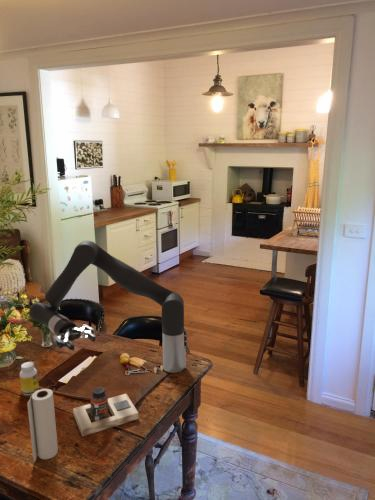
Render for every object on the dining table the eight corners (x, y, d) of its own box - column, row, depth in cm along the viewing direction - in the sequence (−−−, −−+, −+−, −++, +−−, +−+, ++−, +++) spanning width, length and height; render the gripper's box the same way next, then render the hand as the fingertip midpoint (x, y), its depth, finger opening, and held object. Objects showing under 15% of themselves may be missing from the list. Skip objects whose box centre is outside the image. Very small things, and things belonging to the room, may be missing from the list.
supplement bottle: (100, 425, 142) (98, 397, 140) (87, 419, 146) (86, 391, 143) (112, 416, 147) (110, 388, 144) (99, 410, 150) (98, 383, 148)
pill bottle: (33, 397, 159) (30, 370, 156) (18, 395, 160) (15, 368, 157) (42, 387, 165) (39, 361, 162) (27, 385, 166) (24, 359, 163)
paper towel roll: (57, 444, 134) (52, 386, 128) (58, 457, 128) (52, 397, 123) (34, 449, 131) (27, 390, 126) (33, 463, 126) (27, 401, 120)
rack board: (126, 399, 157) (126, 392, 157) (138, 418, 146) (138, 411, 145) (73, 414, 148) (73, 407, 148) (82, 436, 137) (81, 429, 136)
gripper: (44, 324, 154) (65, 341, 143) (78, 312, 163) (100, 327, 152) (45, 341, 156) (67, 360, 145) (79, 329, 165) (101, 345, 155)
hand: (84, 343), depth 149 cm, fingers open, 8 cm apart
